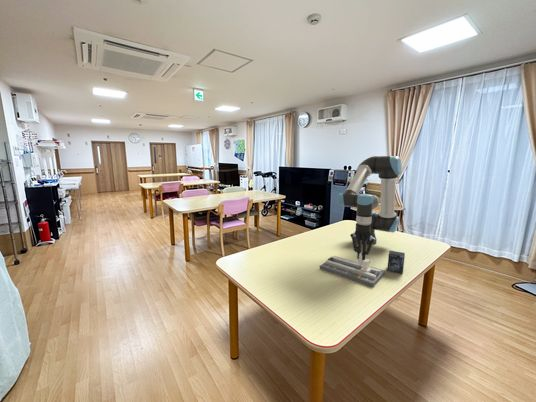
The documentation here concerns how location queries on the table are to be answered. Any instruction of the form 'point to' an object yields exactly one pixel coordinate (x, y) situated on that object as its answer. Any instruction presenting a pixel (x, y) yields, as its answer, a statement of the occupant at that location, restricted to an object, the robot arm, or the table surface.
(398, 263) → the box
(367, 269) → the fader tab
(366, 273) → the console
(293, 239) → the table surface
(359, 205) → the robot arm
